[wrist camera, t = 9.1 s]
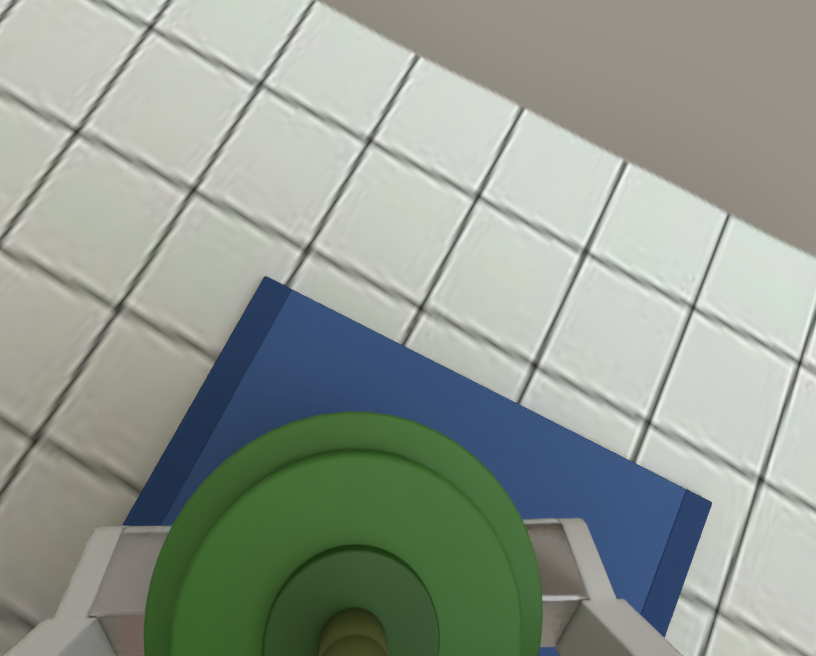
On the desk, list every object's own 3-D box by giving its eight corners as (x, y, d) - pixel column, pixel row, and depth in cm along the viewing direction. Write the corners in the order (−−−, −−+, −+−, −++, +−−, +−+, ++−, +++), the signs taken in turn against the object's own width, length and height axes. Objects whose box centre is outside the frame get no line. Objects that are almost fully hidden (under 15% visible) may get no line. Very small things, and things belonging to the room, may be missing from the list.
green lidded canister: (190, 583, 14) (-77, 879, 5) (302, 374, 15) (242, 321, 6) (398, 685, 14) (487, 1136, 5) (493, 471, 15) (694, 550, 7)
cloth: (101, 567, 19) (95, 570, 19) (266, 278, 21) (264, 275, 21) (596, 808, 19) (601, 817, 19) (705, 500, 22) (713, 502, 21)
